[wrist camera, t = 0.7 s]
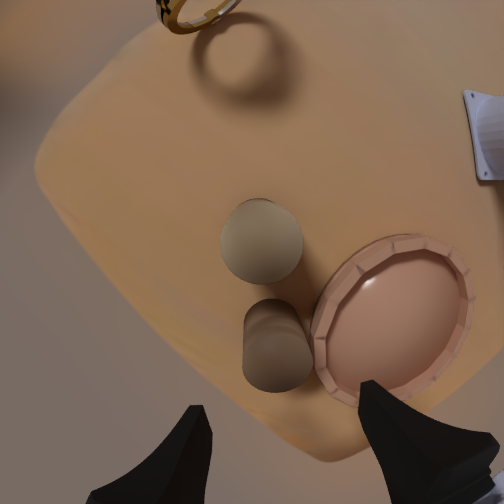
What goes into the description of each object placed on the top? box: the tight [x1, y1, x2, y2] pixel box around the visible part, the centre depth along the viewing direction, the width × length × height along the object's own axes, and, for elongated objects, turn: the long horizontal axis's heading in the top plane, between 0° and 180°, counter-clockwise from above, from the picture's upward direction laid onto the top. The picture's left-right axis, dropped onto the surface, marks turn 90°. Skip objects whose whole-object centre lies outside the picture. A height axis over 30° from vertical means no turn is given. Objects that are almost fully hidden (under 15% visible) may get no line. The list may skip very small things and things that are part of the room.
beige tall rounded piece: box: [220, 198, 303, 284], centre depth 17 cm, size 4×4×6 cm
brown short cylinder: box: [242, 299, 313, 393], centre depth 18 cm, size 4×4×6 cm
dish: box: [310, 234, 475, 407], centre depth 20 cm, size 15×15×2 cm
